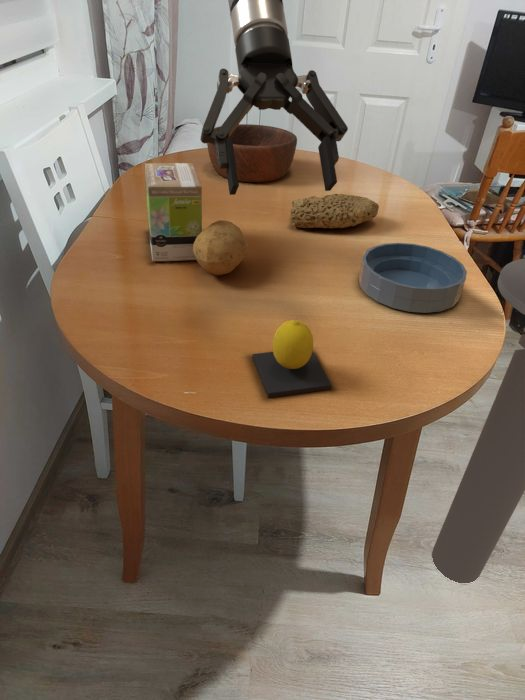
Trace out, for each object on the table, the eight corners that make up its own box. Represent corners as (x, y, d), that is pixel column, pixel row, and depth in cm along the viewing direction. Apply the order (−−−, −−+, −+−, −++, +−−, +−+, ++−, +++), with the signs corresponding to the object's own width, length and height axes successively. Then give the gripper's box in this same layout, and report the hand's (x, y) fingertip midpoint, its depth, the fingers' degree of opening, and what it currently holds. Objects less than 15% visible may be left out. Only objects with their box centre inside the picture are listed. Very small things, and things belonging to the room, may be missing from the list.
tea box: (204, 260, 101) (202, 185, 92) (151, 263, 99) (145, 186, 90) (195, 230, 113) (193, 160, 104) (148, 231, 111) (142, 161, 102)
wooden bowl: (262, 155, 162) (263, 120, 156) (312, 178, 146) (315, 140, 140) (191, 165, 150) (190, 128, 144) (236, 192, 134) (237, 151, 128)
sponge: (292, 239, 114) (384, 227, 111) (287, 203, 111) (382, 190, 108) (294, 226, 126) (378, 216, 123) (291, 194, 123) (376, 182, 120)
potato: (184, 283, 93) (182, 242, 88) (203, 251, 104) (203, 213, 100) (237, 290, 92) (238, 248, 87) (251, 256, 103) (252, 218, 99)
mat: (310, 351, 78) (310, 347, 78) (331, 389, 71) (331, 384, 71) (252, 358, 76) (252, 353, 76) (268, 397, 69) (268, 393, 69)
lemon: (299, 353, 76) (304, 307, 71) (316, 376, 72) (323, 328, 67) (265, 361, 74) (268, 313, 70) (280, 384, 70) (285, 335, 65)
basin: (427, 263, 105) (433, 240, 102) (479, 309, 91) (487, 284, 88) (344, 269, 101) (347, 246, 98) (384, 319, 87) (390, 293, 84)
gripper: (335, 63, 78) (358, 196, 76) (169, 59, 72) (188, 204, 70) (355, 26, 71) (380, 172, 69) (172, 18, 65) (193, 178, 63)
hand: (283, 188), depth 69 cm, fingers open, 13 cm apart
